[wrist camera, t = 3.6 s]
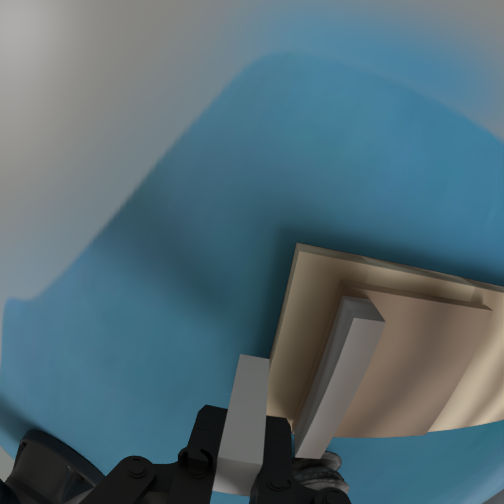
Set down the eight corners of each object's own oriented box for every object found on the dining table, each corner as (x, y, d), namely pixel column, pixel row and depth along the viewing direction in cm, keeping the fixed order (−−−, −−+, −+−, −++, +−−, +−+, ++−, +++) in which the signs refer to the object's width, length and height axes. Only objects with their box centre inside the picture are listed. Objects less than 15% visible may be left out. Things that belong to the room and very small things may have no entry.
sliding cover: (291, 423, 18) (292, 461, 15) (341, 279, 15) (357, 307, 12) (421, 426, 18) (435, 456, 14) (485, 304, 15) (514, 327, 11)
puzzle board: (255, 407, 21) (254, 425, 19) (296, 242, 17) (299, 251, 15) (504, 407, 20) (512, 417, 18) (557, 300, 16) (569, 307, 14)
